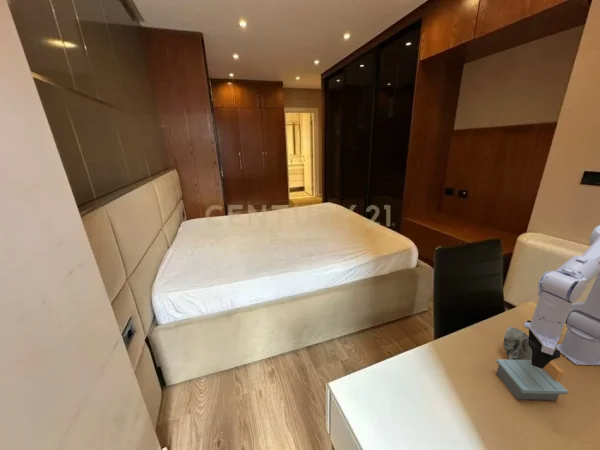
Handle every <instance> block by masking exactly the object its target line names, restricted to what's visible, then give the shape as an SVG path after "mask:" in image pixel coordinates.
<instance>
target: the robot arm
mask: <svg viewBox="0 0 600 450" xmlns="http://www.w3.org/2000/svg"><path fill="white" fill-rule="evenodd" d="M589 245H590V246H589V247H588V248H587V249H586V251H584V252H583V254H582V255H574V256H571V257H570V258H569V259H567V261H565V262H564V263H563V264H561V265H560V266H559V267H557V269H556V270H552V271H550V270H547V271H545V272H544V273H543V274H542V276H541V277H540V279H539V281H538V284H537V289H538V292H537V296H538V301H537V304H536V307H535V309H534V313H533V316H532V318H531V320H526V321H524V323H523V325H524V326H523V327H524V328H525V329H528V336H529V346H530V347H531V349H532V358H531V362H532V365H533V366H536V367H538V368H541V369H543V368H544V367H545V366H546V365H547V364H548V363H549V362H550V361H554V360H556V359H560V358H561V356H562V355H563V356H564V357H565V358H567V359H568V360H569V361H570V362H571V363H572V364H574V365H577V366H584V365H585V366H600V224H598V225H597V226H596V227H594V229H593V230H592V232H591V234H590V237H589ZM593 279H595V281H594V282H593V284H592V287H591V288H590V291H589V293H588V295H587V296H586V300H585V301H578V300H579V299H580V297H581V296H582V295H583V292H584V291H585V290H587V287H588V286H587V285H588V284H589V283H590V282H591V281H592V280H593ZM576 301H577V302H576ZM565 324H566V325H565ZM564 327H566V331H565V333H564V336H563V339H562V341H561V343H559V341H560V340H561V338H562V333H563V330H564Z"/></svg>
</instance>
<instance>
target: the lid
mask: <svg viewBox="0 0 600 450" xmlns="http://www.w3.org/2000/svg"><path fill="white" fill-rule="evenodd" d="M495 362H496V364H498V366H499V365H500V366H501V367H502V368H503V369H504V371H505V372H506V373H507V374H508V375H509V376H510V378H511V379H512V380H513V381H514V382H515V384H516V385H517V386H518V387H519V388H520V389H521V392H522V393H541V394H559V395H567V394H568V392H569V391H568V390H567V389H566V388H565V387H564V386H563V385H562V384H561V383H560V382H561V381H562V379H563V377H564V374H565V371H564V370H563V369H562V368H560V366H558V365H557V364H556V363H555V362H554V360H552V361H550V362H549V363H548V364H547V365H546V366H545V367H544V368H543V369H541V368H538V367H536V366H533V365H532V362H531V360H509V359H505V358H504V359H501V358H500V359H496V361H495Z"/></svg>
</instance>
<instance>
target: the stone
mask: <svg viewBox="0 0 600 450" xmlns="http://www.w3.org/2000/svg"><path fill="white" fill-rule="evenodd" d="M502 345H503V348H504V351H505V353H506V355H507V358H508V360H531V358H532V349H531V347H530V346H529V334H526V332H524V331H523V330H521V329H518V328H516V327H514V326H511V325H510V326H509V327H508V328H507V329H506V331H505V334H504V338H503V343H502Z"/></svg>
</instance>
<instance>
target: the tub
mask: <svg viewBox="0 0 600 450" xmlns="http://www.w3.org/2000/svg"><path fill="white" fill-rule="evenodd" d="M495 374H496V376H497V377H498V378H499V380H501V382H502V383H503V385H504V386H505V387H506V388H507V390H508V391H509V393H511V394H512V396H513V397H514V398H515V399H516V401H524V402H525V401H529V402H532V401H534V402H557V399H558V398H559V396H560V394H541V393H522V392H521V389H520V388H519V387H518V386H517V385H516V384H515V382H514V381H513V380H512V379H511V378H510V376H509V375H508V374H507V373H506V372H505V371H504V369H503V368H502V367H501V366H500V365H499V364H498V367H497V370H496V373H495Z"/></svg>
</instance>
